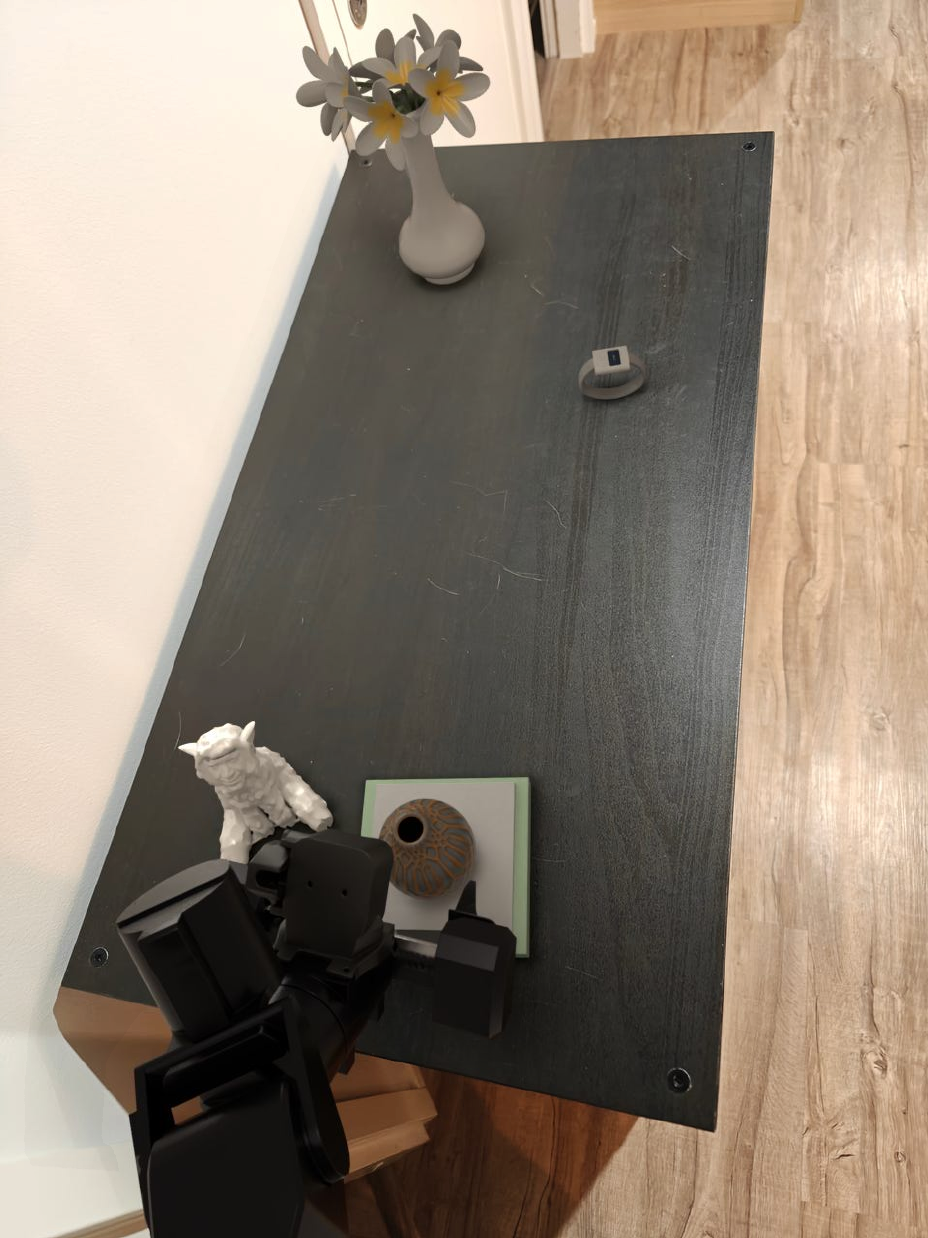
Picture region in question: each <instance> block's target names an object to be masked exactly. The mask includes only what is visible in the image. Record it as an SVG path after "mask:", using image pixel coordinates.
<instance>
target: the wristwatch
mask: <svg viewBox="0 0 928 1238" xmlns="http://www.w3.org/2000/svg"><path fill="white" fill-rule="evenodd" d="M591 352H592V357H591V358H590V359H588V360H587V361H586V362H585V363H584V364H583V365H582V367H581V369H580V370H579V373H578V384H579V385H578V386H579V387H578V388H579V389H580V392H581V393H582V394H583V395H585V396H586V397H589V398H591V399H597V400H616V399H621V398H625V397H627V396H629V395H632V394H633V393H634V392H636V391H638V390H639V389H640V388H641V387H642V386H643V385H644V384H645V382H646V379H647V372H646V367H645V364H644V362H643V360H642V359H641V358H640V357H639V356H637V355H636V354H635V353H632V352H630V351H629V350H628V347H627V345H622V346H621V345H620V346H615V347H609V348H603V349H596V350H592V351H591ZM630 365H631V366H634V367H636V368H637V369H638V370H639V372H638V374H637V375H636V377H634V378H633V379H631V380H630V381H629V382H626V383H625V384H622V385H620V386H615V387H608V388H607V387H606V388H605V387H597V386H596V387H595V386H592V385H590V384H588V383H587V382H585V380H586V378H587V377H588V375H589V374H590V373H591V372H593V371H594V375H595V377H596V376H604V375H609V374H616V373H622V372H628V371H631V366H630Z"/></svg>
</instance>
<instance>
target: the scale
mask: <svg viewBox="0 0 928 1238" xmlns="http://www.w3.org/2000/svg"><path fill="white" fill-rule="evenodd" d="M423 798H427V799H436V800H439V801H443V802H445V803H447V804H449V805H451V806H452V807H454V808H455V809H457V810H458V811H459V812H460V813H461V814H462V815H463V816H464V818H465V819H466V820H467V822H468V824H469V825H470V827H471V829H472V832H473V835H474V838H475V843H476V858H475V863H474V867H473V870H472V872H471V874H470V876H469V877H468V879H467V880H466V882H465V883H464V884H463V885H462V886H461V887H460V888H459V889H458V890H457V891H455V892H454V893H452V894H450V895H449V896H446V897H444V898H441V899H436V900H420V899H415V898H412V897H410V896H408V895H405V894H404V893H402V892H401V891H399V890H398V889H397V888H395V887H394V886H393V885H392V884H391V883H390V882H389V888H388V895H387V901H386V908H385V913H384V917H383V919H382V920H383V922H387V923H391V924H395V932H394V933H395V934H399V935H403V936H407V937H411V938H415V939H419V940H423V941H427V942H431V943H435V944H438V941H439V937H440V933H441V931H442V929H443V927H444V926H445V924H446V922H447V921H448V910H449V909H453V910H455V909H456V906H457V904H458V901H459V899H460V896H461V894H462V892H463V889H464V888H465V886H466V885H467V884H468V882H469V881H470V880H473V881H476V912H477V915H478V916H482V917H486V918H489V919H491V920H493V921H494V922H495V924H497V925H501V926H505V927H508V928H509V929H510V930H511V931H512V933H513V934H514V935H515V936H516V937H517V944H516V957H515V958H523V959H524V958H530V921H531V919H530V918H531V916H530V914H531V912H530V909H531V833H532V832H531V831H532V830H531V827H532V825H531V824H532V823H531V822H532V821H531V820H532V818H531V817H532V783H531V781H530V778H529V777H528V776H527V777H524V776H522V777H468V778H467V777H465V778H415V779H414V778H409V779H408V778H407V779H366V780H365V787H364V799H363V810H362V817H361V830H360V836H364V837H370V838H377V839H378V838H379V834H380V831H381V828H382V826H383V824H384V822H385V820H386V819H387V817H388V816H389V815H390V814H391V813H392V812H393V811H394V810H395V809H396V808H398V807H399V806H401V805H402V804H404V803H406V802H409V801H412V800H416V799H423Z"/></svg>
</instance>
